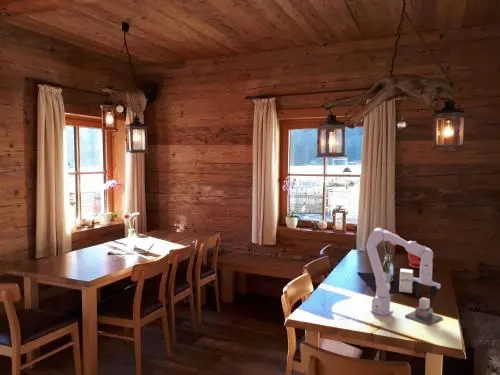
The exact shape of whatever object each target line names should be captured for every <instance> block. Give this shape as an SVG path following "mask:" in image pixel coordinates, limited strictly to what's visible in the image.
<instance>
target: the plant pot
mask: <svg viewBox="0 0 500 375" xmlns="http://www.w3.org/2000/svg"><path fill="white" fill-rule="evenodd" d="M407 256H408V262H409V263H408V265H409V267H412V268H415V269H420V263H421V257H418V256H416V255H414V254H412V253H410V252H408V251H407Z"/></svg>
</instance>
